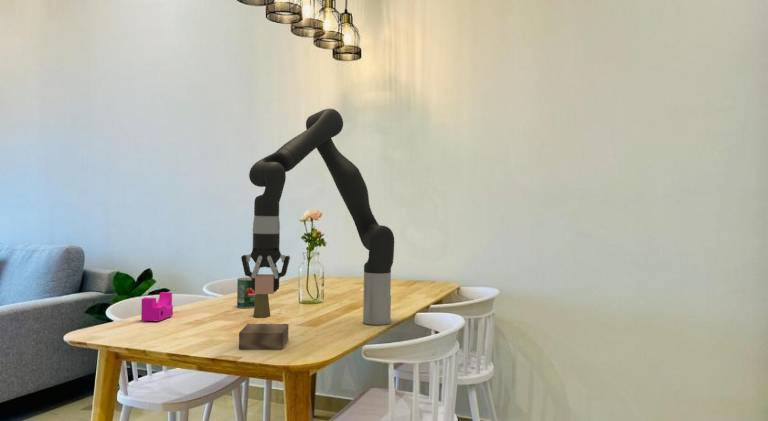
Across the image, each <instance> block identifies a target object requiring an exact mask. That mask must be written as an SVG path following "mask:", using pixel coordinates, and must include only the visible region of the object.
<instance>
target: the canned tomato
mask: <svg viewBox="0 0 768 421" xmlns="http://www.w3.org/2000/svg"><path fill="white" fill-rule="evenodd" d="M236 280H237V284H236V285H237V290H236V292H237V294H236V295H237V297H236V307H237V308H240V309H251V308H252V309H254V308H255V301H256V294H255V292H254V289H252V279H251V277H249V276H245V277H238V278H236Z"/></svg>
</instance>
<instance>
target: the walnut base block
mask: <svg viewBox="0 0 768 421" xmlns="http://www.w3.org/2000/svg"><path fill="white" fill-rule="evenodd" d="M288 341H289V323H246V325H245V326H244V327H243V328H242V329H241V330H240V331H239V333H238V350H239V351H240V350H241V351H242V350H243V351H244V350H245V351H246V350H247V351H249V350H251V351H254V350H255V351H257V350H258V351H259V350H260V351H264V350H265V351H273V350H274V351H282V350H284V349H285V347H286V344H287V343H288Z"/></svg>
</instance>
